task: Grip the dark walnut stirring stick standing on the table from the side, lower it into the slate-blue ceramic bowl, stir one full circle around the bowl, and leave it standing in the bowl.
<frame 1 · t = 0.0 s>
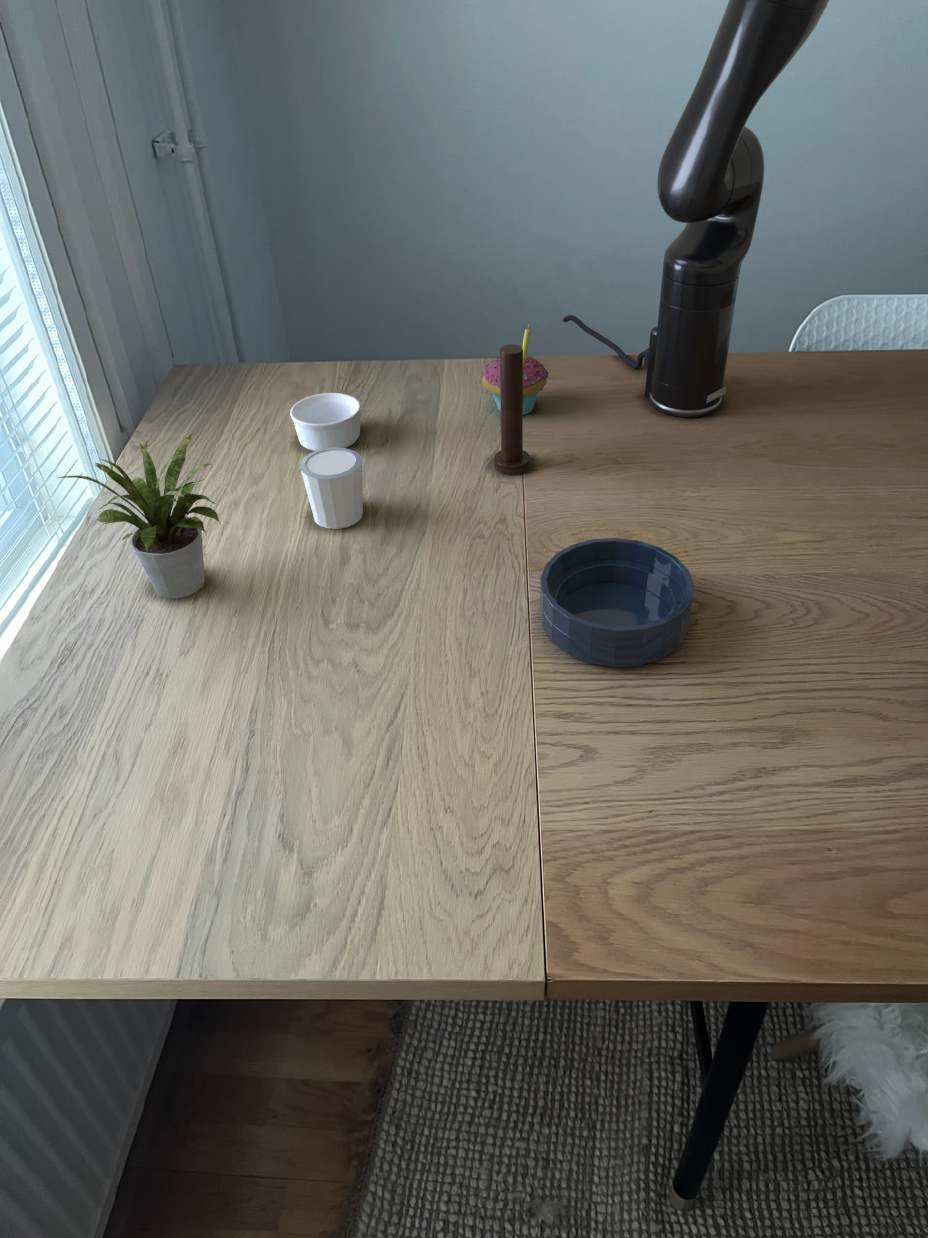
stirrer: (511, 465, 116), on the table
bowl: (613, 621, 92), on the table
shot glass: (338, 516, 109), on the table
ramekin: (329, 439, 123), on the table
house plant: (169, 591, 99), on the table
cupcake: (514, 409, 127), on the table
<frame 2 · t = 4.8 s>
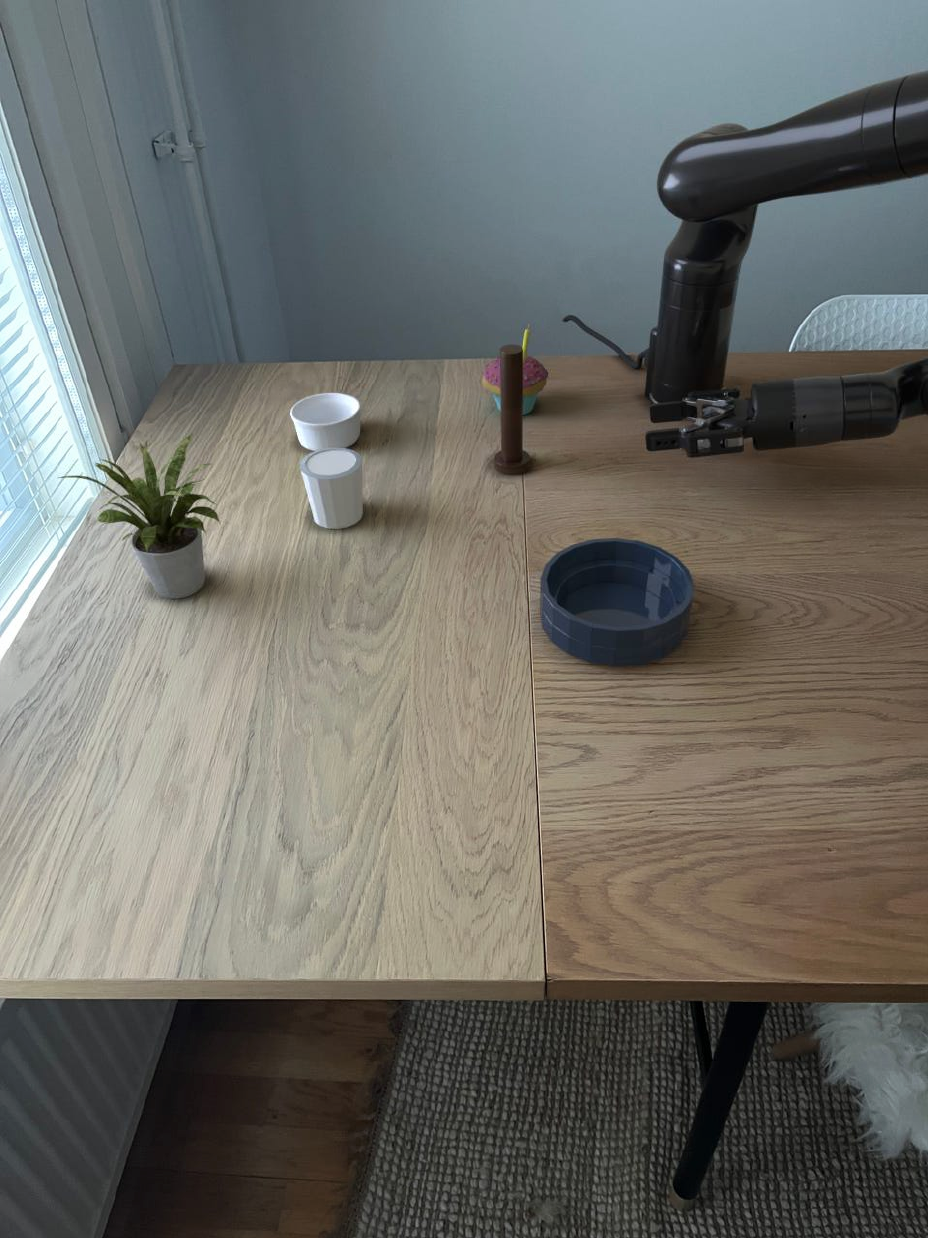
hand: (648, 427, 109), 6 cm above the table, tool horizontal, fingers open, 8 cm apart
nothing on the table moved.
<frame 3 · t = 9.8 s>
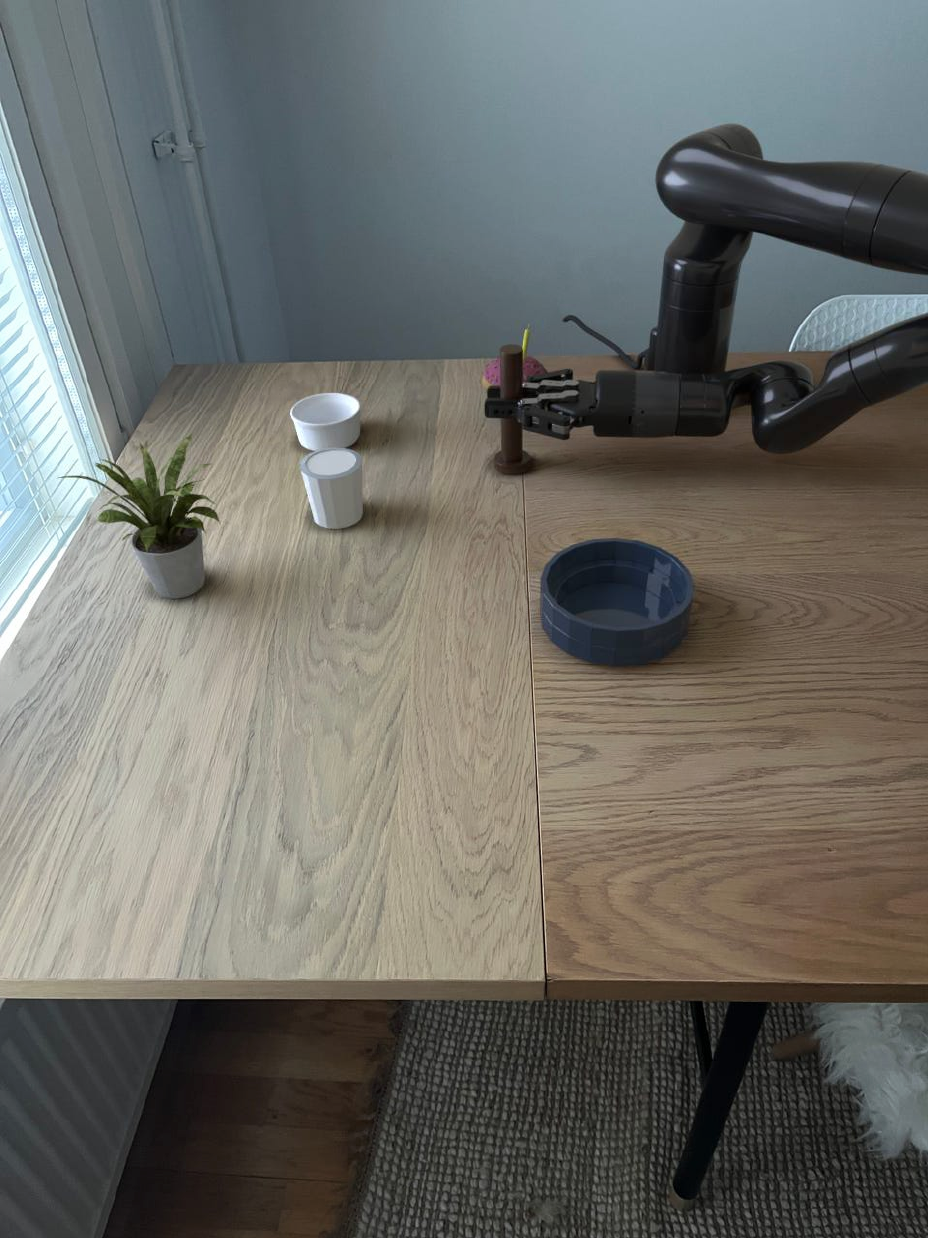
hand: (486, 401, 111), 9 cm above the table, tool horizontal, fingers closed on stirrer, 2 cm apart
stirrer: (511, 465, 116), on the table, touching gripper
everything else where it was.
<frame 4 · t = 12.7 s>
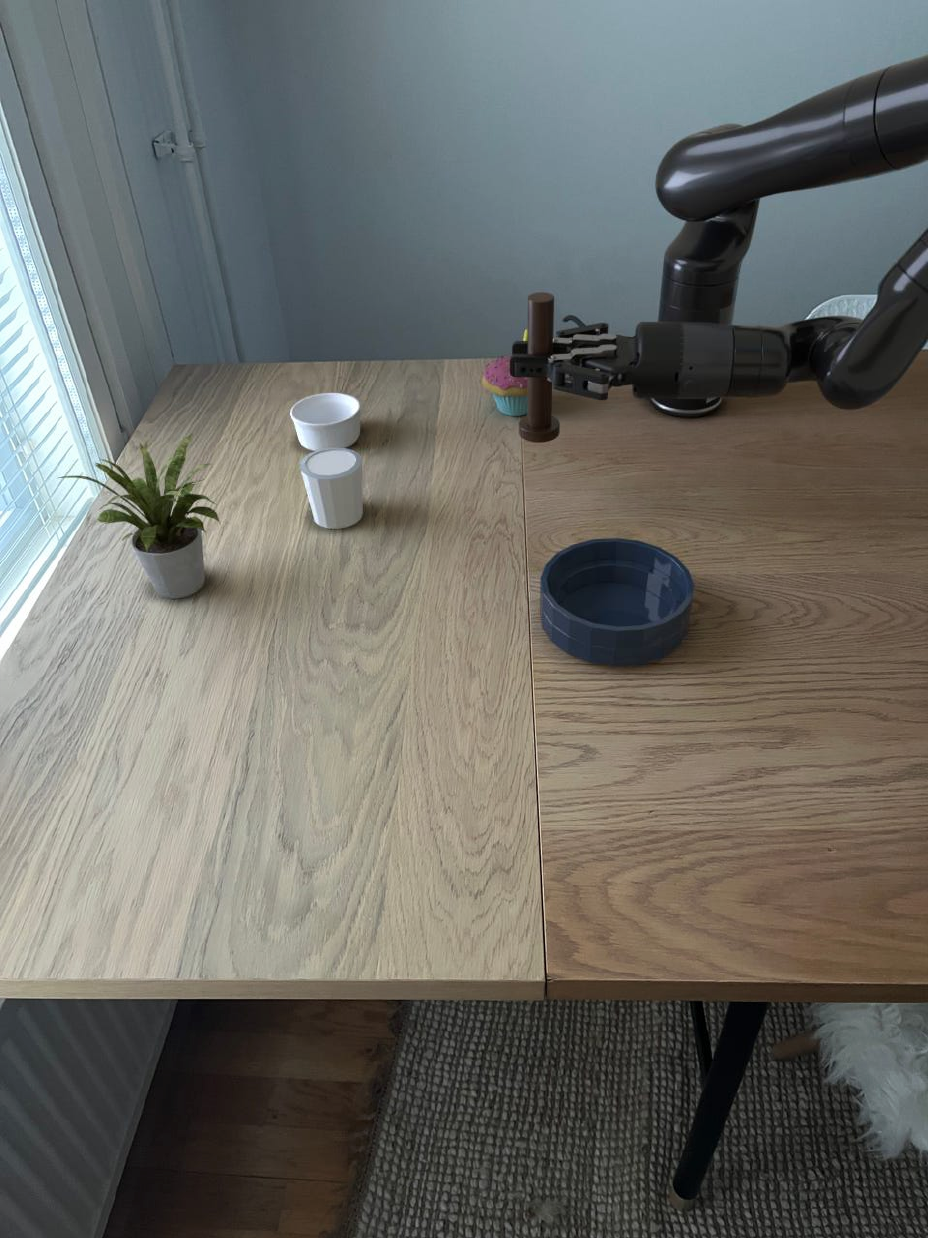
hand: (512, 358, 98), 18 cm above the table, tool horizontal, fingers closed on stirrer, 2 cm apart
stirrer: (539, 432, 103), point 9 cm above the table, touching gripper
everything else where it was.
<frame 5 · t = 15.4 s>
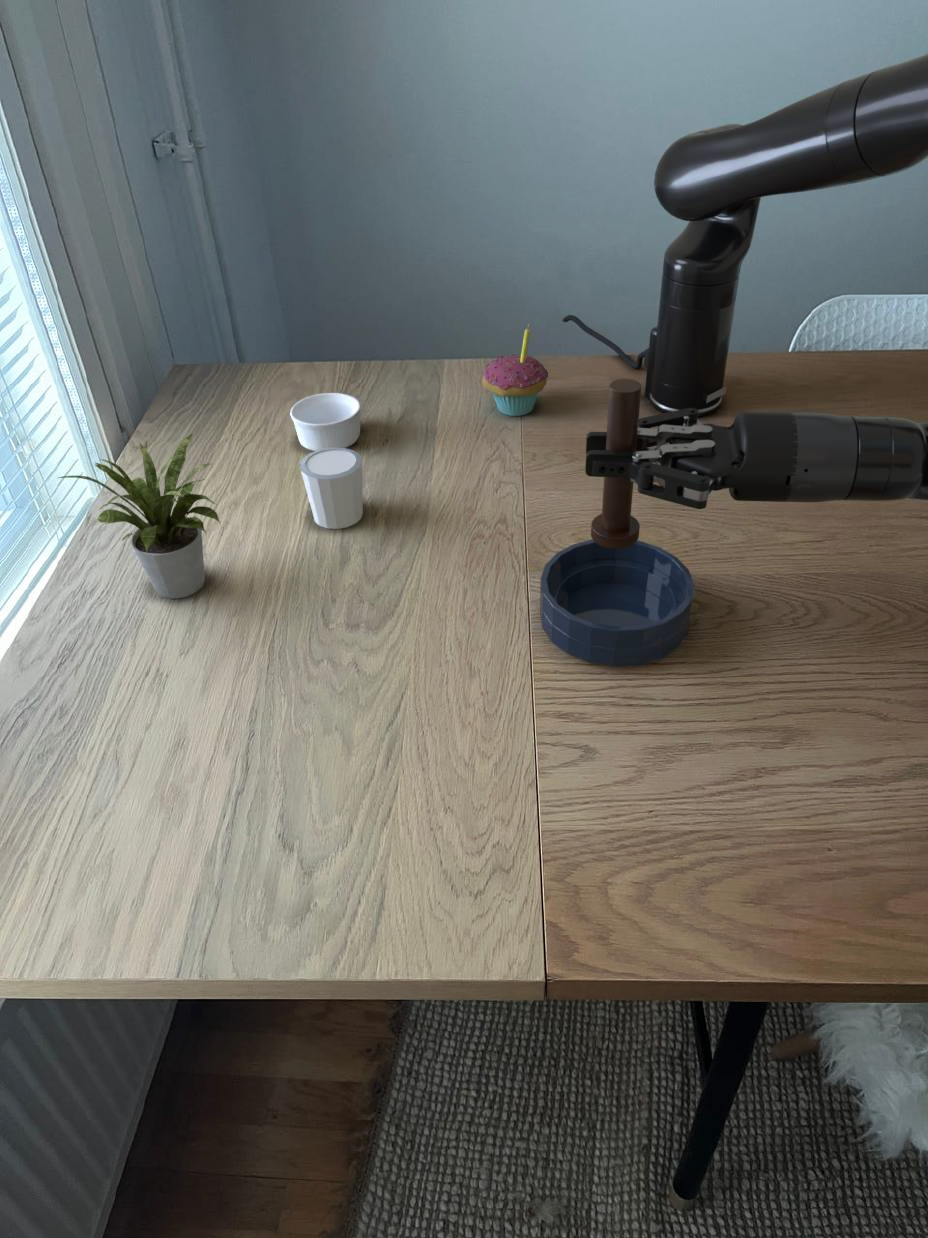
hand: (587, 453, 83), 18 cm above the table, tool horizontal, fingers closed on stirrer, 2 cm apart
stirrer: (614, 535, 88), point 9 cm above the table, touching gripper
everything else where it was.
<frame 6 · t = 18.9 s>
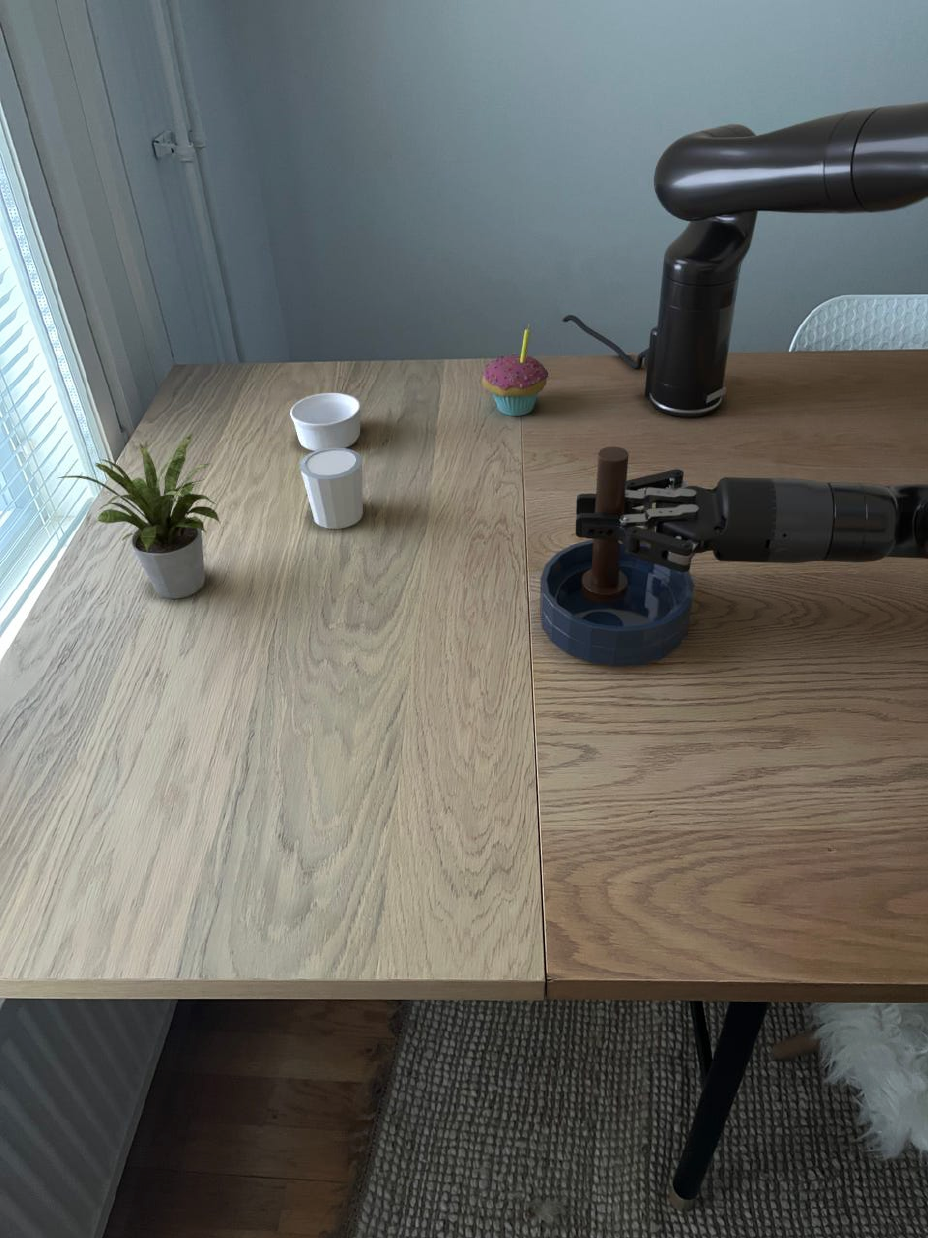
hand: (577, 515, 87), 11 cm above the table, tool horizontal, fingers closed on stirrer, 2 cm apart
stirrer: (604, 589, 92), point 3 cm above the table, touching gripper
everything else where it was.
when the fingers open (9 cm above the table, at t = 21.3 s): stirrer stays where it is, resting on bowl.
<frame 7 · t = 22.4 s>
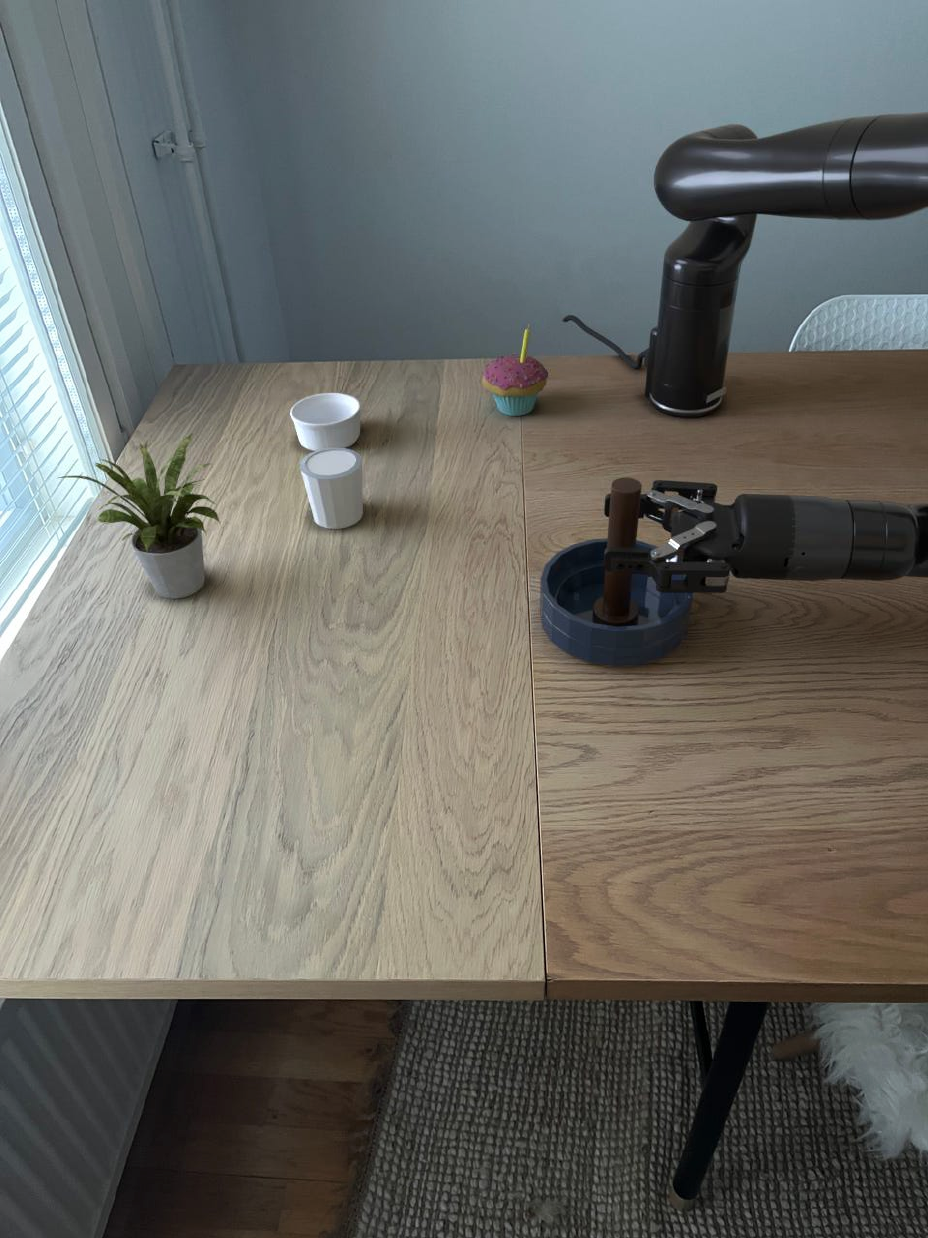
hand: (604, 531, 86), 11 cm above the table, tool horizontal, fingers open, 8 cm apart
stirrer: (615, 617, 92), point 1 cm above the table, touching bowl
everything else where it was.
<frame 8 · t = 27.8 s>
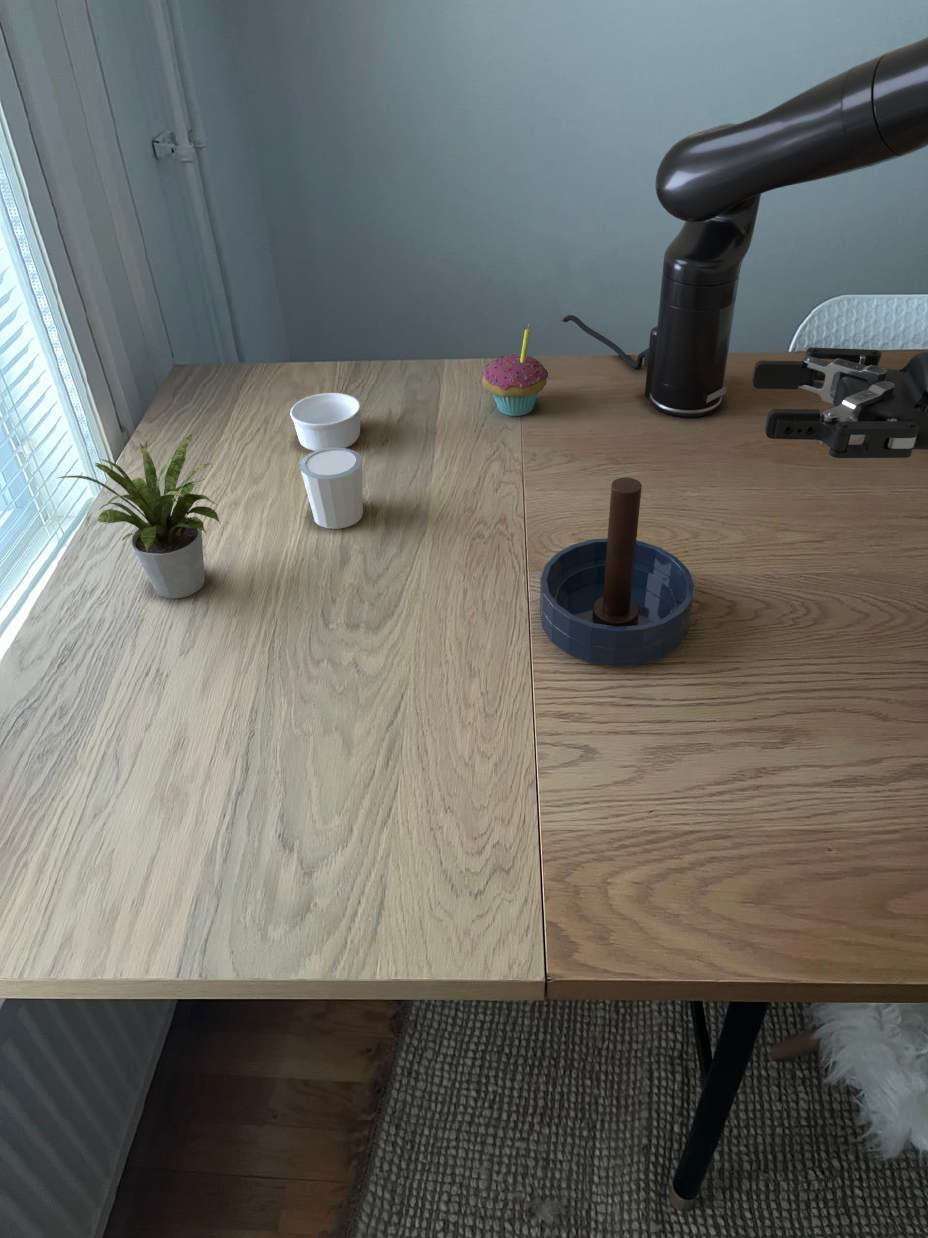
hand: (760, 398, 76), 24 cm above the table, tool horizontal, fingers open, 8 cm apart
nothing on the table moved.
at the end: stirrer inside the target area in the bowl (0.1 cm from its centre), point 0.6 cm above the bowl's base; stirrer tilted 0°; the gripper is holding nothing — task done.
